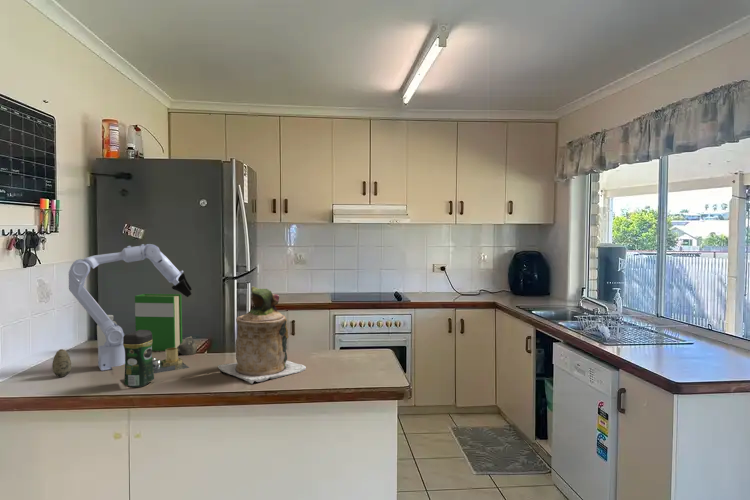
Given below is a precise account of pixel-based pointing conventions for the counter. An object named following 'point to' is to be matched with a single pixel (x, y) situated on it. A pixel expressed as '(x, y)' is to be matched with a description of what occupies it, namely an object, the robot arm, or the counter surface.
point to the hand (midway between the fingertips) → (189, 293)
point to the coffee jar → (138, 358)
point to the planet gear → (171, 357)
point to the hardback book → (160, 319)
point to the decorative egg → (61, 363)
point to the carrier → (160, 368)
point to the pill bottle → (100, 334)
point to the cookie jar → (262, 342)
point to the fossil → (187, 346)
